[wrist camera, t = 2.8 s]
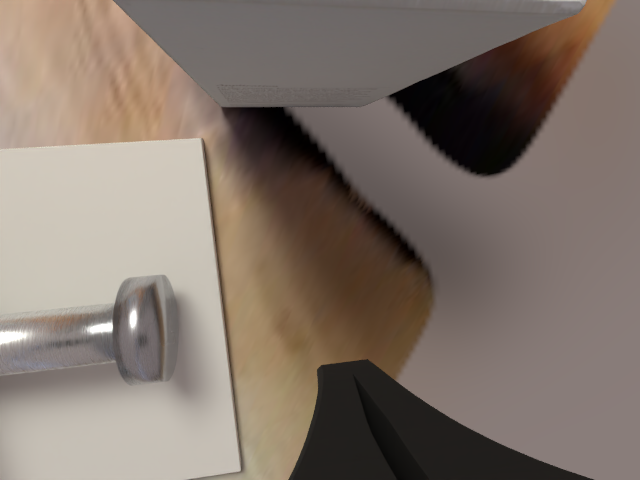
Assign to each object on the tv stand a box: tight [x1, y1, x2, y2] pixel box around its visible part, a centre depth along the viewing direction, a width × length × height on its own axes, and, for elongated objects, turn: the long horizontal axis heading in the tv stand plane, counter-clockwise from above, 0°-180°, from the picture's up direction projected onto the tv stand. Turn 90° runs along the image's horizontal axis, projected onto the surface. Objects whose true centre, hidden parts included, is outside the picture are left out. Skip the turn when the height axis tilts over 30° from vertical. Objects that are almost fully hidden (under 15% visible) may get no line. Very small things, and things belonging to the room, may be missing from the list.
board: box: [0, 138, 241, 480], centre depth 18 cm, size 16×17×1 cm
